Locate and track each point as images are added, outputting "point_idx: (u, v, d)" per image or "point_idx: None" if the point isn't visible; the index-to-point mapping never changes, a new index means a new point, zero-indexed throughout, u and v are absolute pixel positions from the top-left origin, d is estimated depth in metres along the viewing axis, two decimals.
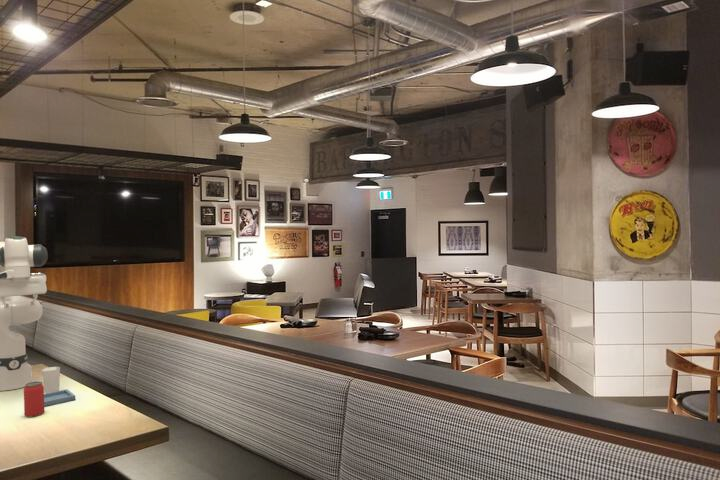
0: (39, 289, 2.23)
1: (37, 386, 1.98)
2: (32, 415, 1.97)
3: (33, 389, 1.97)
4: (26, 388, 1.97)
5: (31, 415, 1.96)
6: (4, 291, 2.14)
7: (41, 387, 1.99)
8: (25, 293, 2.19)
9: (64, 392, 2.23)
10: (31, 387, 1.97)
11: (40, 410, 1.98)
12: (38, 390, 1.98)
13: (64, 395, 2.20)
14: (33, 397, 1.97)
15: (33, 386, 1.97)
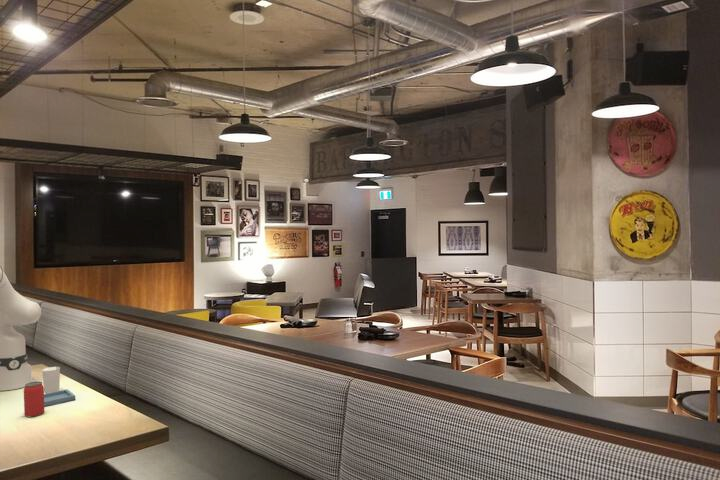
0: None
1: (37, 386, 1.98)
2: (32, 415, 1.97)
3: (33, 389, 1.97)
4: (26, 388, 1.97)
5: (31, 415, 1.96)
6: None
7: (41, 387, 1.99)
8: None
9: (64, 392, 2.23)
10: (31, 387, 1.97)
11: (40, 410, 1.98)
12: (38, 390, 1.98)
13: (64, 395, 2.20)
14: (33, 397, 1.97)
15: (33, 386, 1.97)
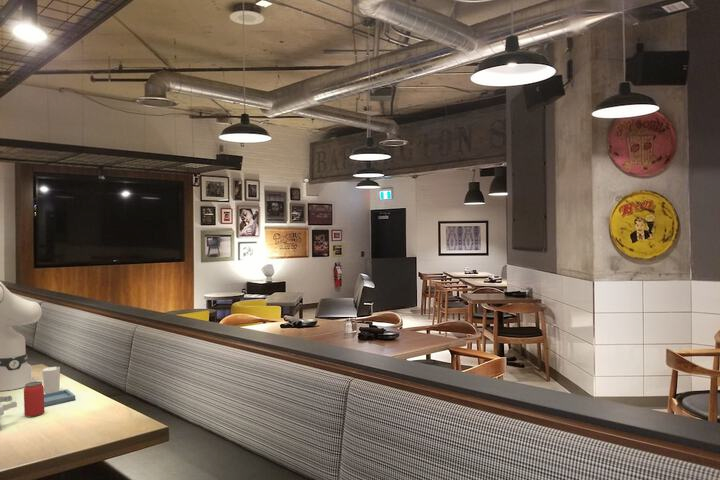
0: None
1: (37, 386, 1.98)
2: (32, 415, 1.97)
3: (33, 389, 1.97)
4: (26, 388, 1.97)
5: (31, 415, 1.96)
6: None
7: (41, 387, 1.99)
8: None
9: (64, 392, 2.23)
10: (31, 387, 1.97)
11: (40, 410, 1.98)
12: (38, 390, 1.98)
13: (64, 395, 2.20)
14: (33, 397, 1.97)
15: (33, 386, 1.97)
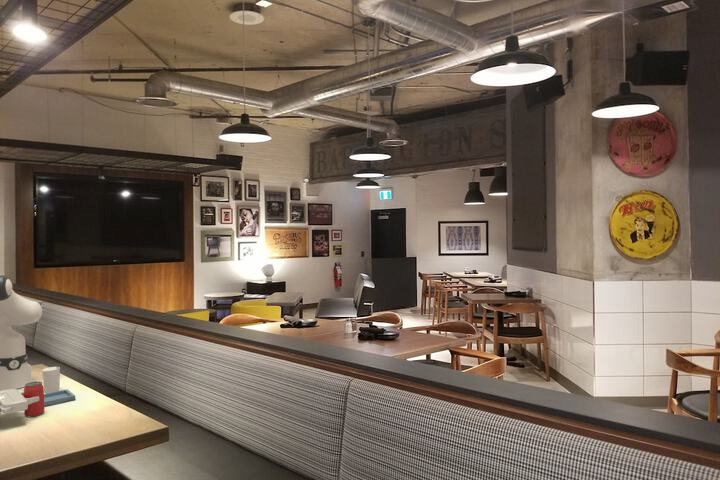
0: None
1: (37, 386, 1.98)
2: (32, 415, 1.97)
3: (33, 389, 1.97)
4: (26, 388, 1.97)
5: (31, 415, 1.96)
6: None
7: (41, 387, 1.99)
8: None
9: (64, 392, 2.23)
10: (31, 387, 1.97)
11: (40, 410, 1.98)
12: (38, 390, 1.98)
13: (64, 395, 2.20)
14: None
15: (33, 386, 1.97)
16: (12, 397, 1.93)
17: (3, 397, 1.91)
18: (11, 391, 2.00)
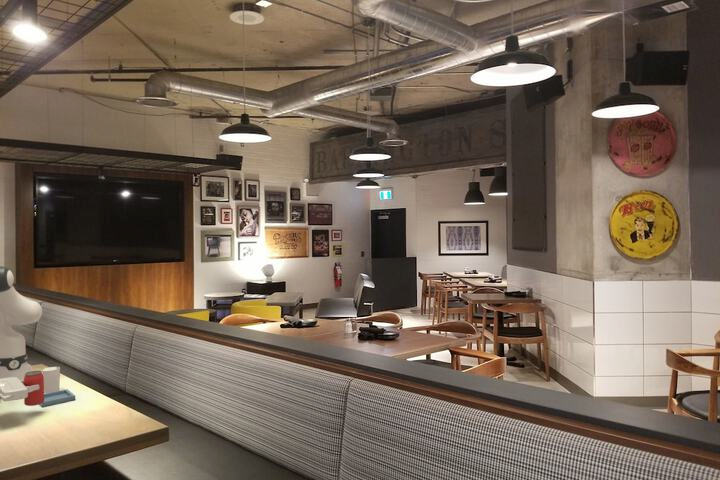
0: None
1: (37, 375, 1.98)
2: (32, 404, 1.97)
3: (33, 378, 1.97)
4: (26, 377, 1.97)
5: (31, 404, 1.97)
6: None
7: (41, 376, 1.99)
8: None
9: (64, 392, 2.23)
10: (31, 376, 1.97)
11: (39, 399, 1.99)
12: (38, 379, 1.98)
13: (64, 395, 2.20)
14: None
15: (33, 375, 1.97)
16: (12, 385, 1.93)
17: (3, 385, 1.91)
18: (11, 379, 2.00)
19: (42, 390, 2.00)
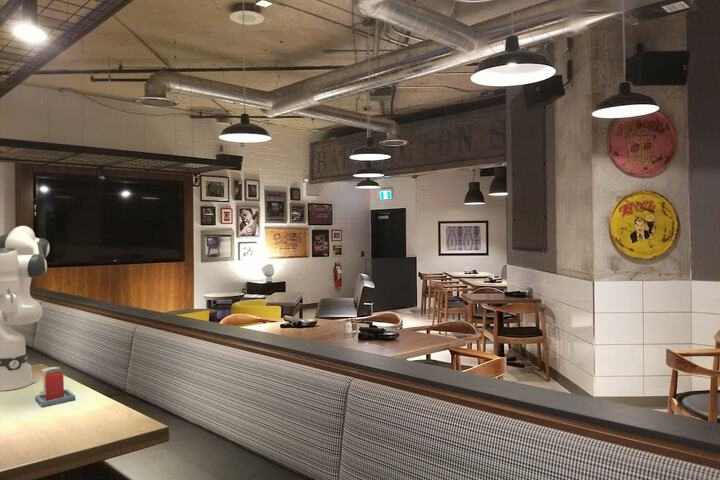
0: (5, 309, 2.00)
1: (57, 373, 2.14)
2: None
3: (54, 375, 2.13)
4: (47, 374, 2.13)
5: (52, 399, 2.13)
6: None
7: (61, 374, 2.15)
8: (3, 310, 2.04)
9: (64, 392, 2.23)
10: (52, 373, 2.13)
11: (60, 395, 2.14)
12: (58, 376, 2.14)
13: (64, 395, 2.20)
14: (53, 383, 2.13)
15: (54, 372, 2.13)
16: None
17: None
18: None
19: (62, 386, 2.16)
